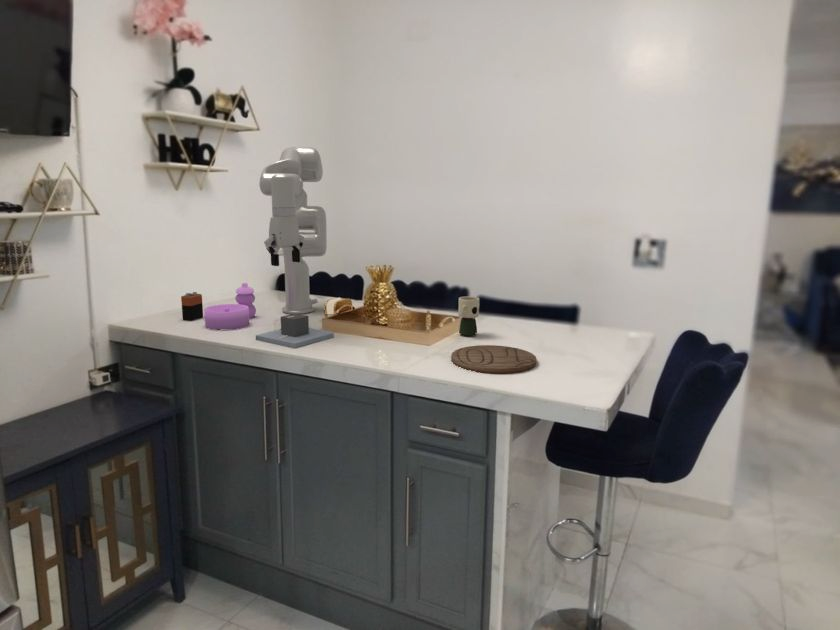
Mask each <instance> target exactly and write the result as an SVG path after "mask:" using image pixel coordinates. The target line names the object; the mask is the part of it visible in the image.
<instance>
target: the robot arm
mask: <svg viewBox="0 0 840 630" xmlns="http://www.w3.org/2000/svg"><path fill="white" fill-rule="evenodd" d="M323 169H324V168H323V163H322V159H321V155H320V153H319V151H318V150H317V149H316V148H314V147H304V146H303V147H302V146H300V147H296V146H291V147H290V146H289V147H287V148H285V149H284V150H283V151H282V152H281V154H280V157H279V160H277V161H276V162H273V163H270V164H268V165H267V166H264V168H263V169H262V172H261V174H260V177H259V184H258V185H259V188H260V191H261V194H263V195H264V196H269V197H271V212H272V213H271V214H272V216H271V217H270V219H269V220H270V221H269V226H268V238H267V239H266V240H264V242H263V243H264V245H265V248H266V250H267V251H268V254H270V264H271V266H273V267H279V266H280V254H278V252H279V251H280V250H281V249H282V250H281V251H282V255H283V262H284V288H285V289H284V290H285V306H284V307H282V308H281V312H283V313H285V314H288V315H290V314H300V315H304V314H308V313H313V312H314V311H315V308H314V307H313V306H312V305H315V304H318V302H319V300H318V299H317V298H313V299H312V298H310V297H311V296H310V268H309V265H308V263H307V262H306V261H305V260H304V259H303V258H304V257H306V258H307V257H315V258H316V257H323V256H325V255H326V252H327V243H328V242H327V215H326V211H325V209H324V208H323V207H321V206H318V205H316V206H315V205H308V194H307V192H306V191H305V189H304V183H318V182H320V181H321V180H322V178H323V175H324V174H323V173H324V171H323ZM300 231H301V232H300ZM302 231H304V232H302ZM305 231H314V232H305Z"/></svg>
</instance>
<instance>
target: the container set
mask: <svg viewBox="0 0 840 630" xmlns="http://www.w3.org/2000/svg"><path fill="white" fill-rule="evenodd" d="M248 285H249V283H248V282H247V283H246V282H243V283H241V287H238V288H237V289H235V293H236V294H237V295H236V296H235V297H234V298H235V299H234V300H235V301H236V303H224V304H223V303H222V304H215V305H209V306H207V307H204V309H203V314H204V325H205V329H208V328H209V329H210V330H213V329H232V330H238V329H237V328H239V329H243V327H244V328H247V327H248V326H250V319H252V317H253V318H254V317H255V315H256V312H257V308H256V306H255V305H254V304H253V303H254V302H255V301H256V297H255V295H254V293H255V290H254V288H252V287H250V286H248ZM246 326H247V327H246Z"/></svg>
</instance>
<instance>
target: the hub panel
mask: <svg viewBox="0 0 840 630" xmlns="http://www.w3.org/2000/svg"><path fill="white" fill-rule="evenodd" d="M334 336H335V333H334V332H331V331H326V330H321V329H316V328H313V327H309V334H305V335H301V336H298V337H292V336H287V335H282V334H281V328H280V329H276V330H271V331H267V332H264V333H263V332H262V333H260V334H256V335H255V340H256V341H260V342H266V343H271V344H273V343H274V345H278V344H279V345H278V346H282V345H284V347H287V346H288V347H287V348H291V347H292V348H293V349H298V348H300V346H301V347H304V346H308V345H310V344H314V342H315V343H318V342H321V340H322V341H325V340H328V338H329V339H331V338H334ZM324 339H325V340H324ZM307 344H308V345H307ZM303 345H304V346H303ZM297 347H298V348H297ZM292 348H291V349H292Z"/></svg>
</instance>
